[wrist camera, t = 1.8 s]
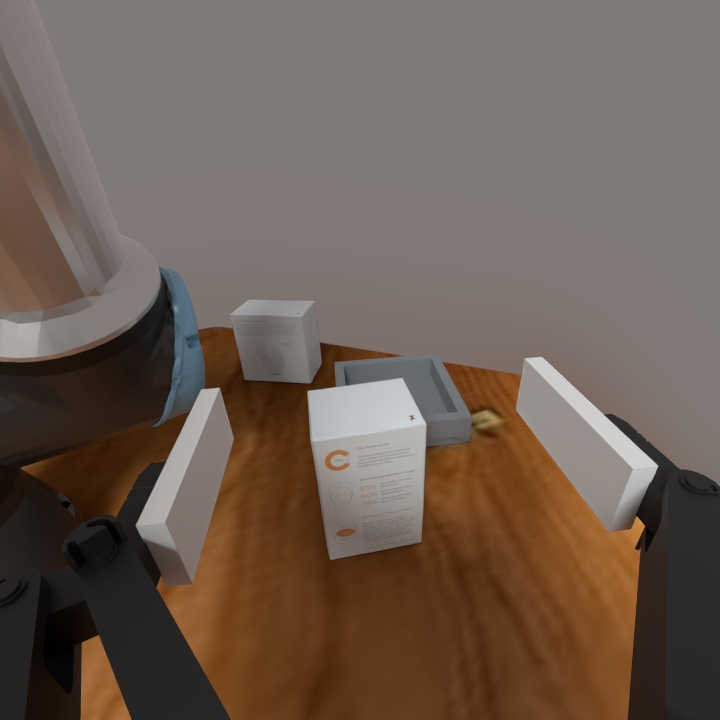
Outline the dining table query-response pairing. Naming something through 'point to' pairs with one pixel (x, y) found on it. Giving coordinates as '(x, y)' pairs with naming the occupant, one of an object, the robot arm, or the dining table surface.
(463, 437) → the tray
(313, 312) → the skincare box
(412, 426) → the small box
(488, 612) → the dining table surface
